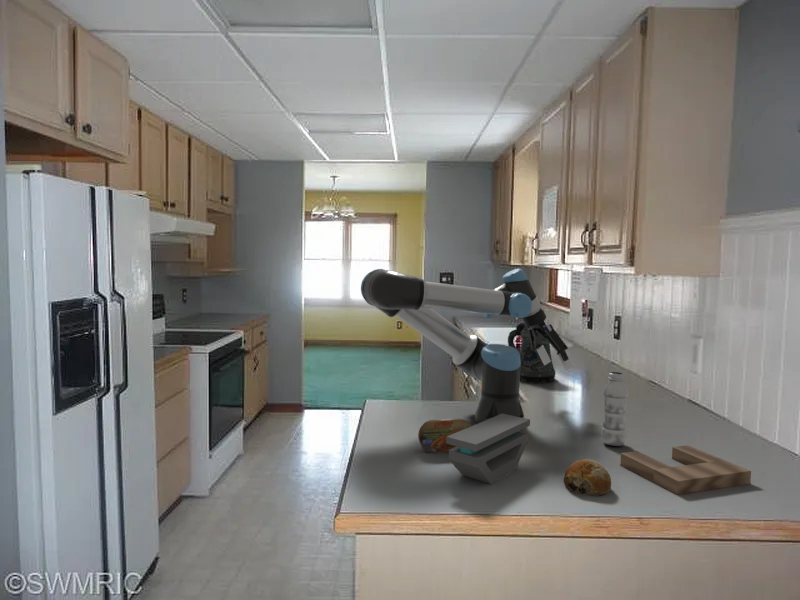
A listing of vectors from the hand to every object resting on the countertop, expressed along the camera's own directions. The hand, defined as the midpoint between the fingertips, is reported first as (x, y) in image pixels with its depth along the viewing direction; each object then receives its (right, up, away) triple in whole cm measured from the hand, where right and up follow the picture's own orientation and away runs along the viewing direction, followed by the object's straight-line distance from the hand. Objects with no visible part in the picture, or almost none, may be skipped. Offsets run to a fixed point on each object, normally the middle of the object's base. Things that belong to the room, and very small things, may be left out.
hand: (558, 365), depth 190 cm
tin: (-42, -17, -44) cm, 63 cm away
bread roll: (-13, -20, -67) cm, 71 cm away
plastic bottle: (+4, -17, -38) cm, 42 cm away
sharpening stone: (-33, -19, -59) cm, 70 cm away
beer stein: (+2, -11, +45) cm, 46 cm away
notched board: (+13, -19, -59) cm, 63 cm away
